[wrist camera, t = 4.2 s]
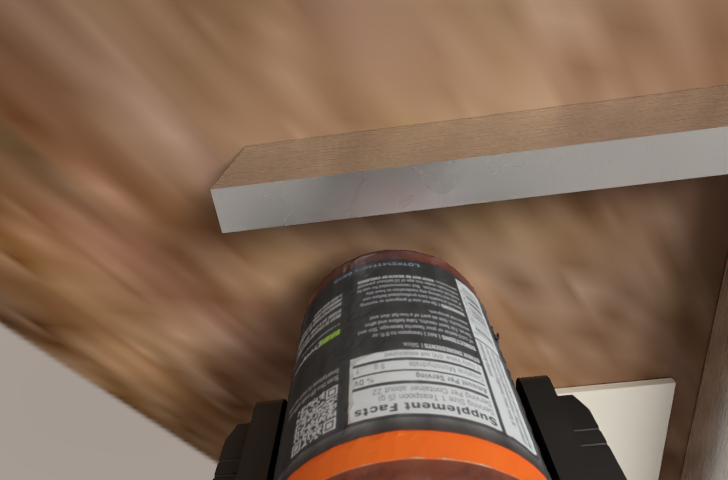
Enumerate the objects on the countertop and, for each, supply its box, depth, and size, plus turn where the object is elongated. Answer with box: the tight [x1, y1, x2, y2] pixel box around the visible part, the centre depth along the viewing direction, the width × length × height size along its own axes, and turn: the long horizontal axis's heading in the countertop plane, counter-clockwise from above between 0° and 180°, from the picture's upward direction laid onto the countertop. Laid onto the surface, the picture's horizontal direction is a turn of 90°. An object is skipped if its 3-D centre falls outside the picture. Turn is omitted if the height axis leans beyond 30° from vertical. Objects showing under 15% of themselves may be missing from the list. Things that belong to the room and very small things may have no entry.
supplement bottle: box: [273, 250, 552, 480], centre depth 12 cm, size 6×6×11 cm
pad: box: [555, 378, 676, 480], centre depth 22 cm, size 8×8×1 cm
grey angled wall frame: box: [210, 85, 728, 480], centre depth 18 cm, size 18×17×4 cm
